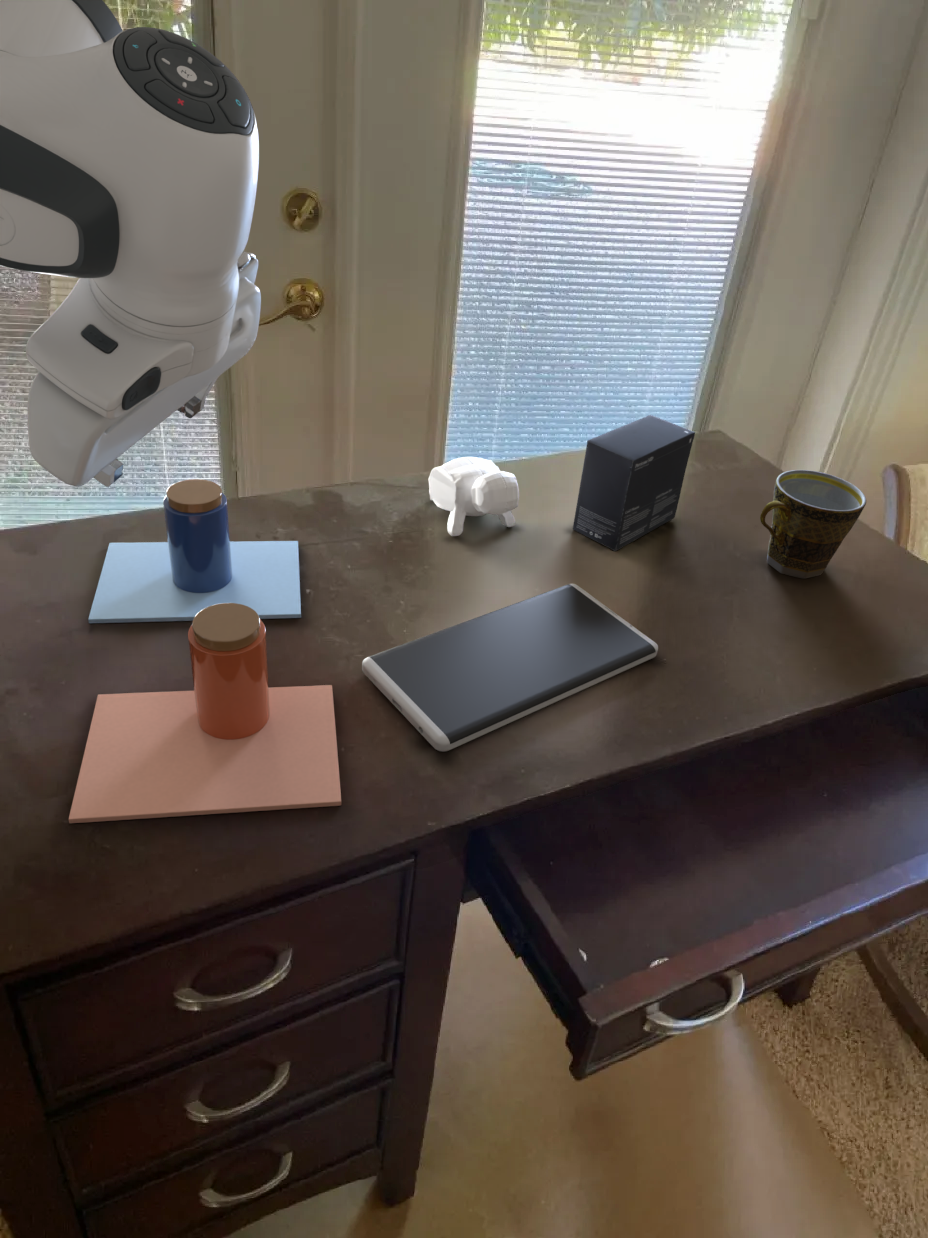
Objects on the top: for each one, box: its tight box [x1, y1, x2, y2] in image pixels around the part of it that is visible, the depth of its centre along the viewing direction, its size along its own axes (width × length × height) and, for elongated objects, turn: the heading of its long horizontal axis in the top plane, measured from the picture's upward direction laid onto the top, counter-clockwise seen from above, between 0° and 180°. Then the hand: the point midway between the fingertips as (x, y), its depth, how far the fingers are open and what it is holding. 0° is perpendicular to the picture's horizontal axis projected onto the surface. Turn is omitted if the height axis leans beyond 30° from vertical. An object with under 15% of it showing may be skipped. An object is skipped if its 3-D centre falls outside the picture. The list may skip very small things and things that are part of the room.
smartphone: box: [361, 583, 659, 752], centre depth 85 cm, size 13×27×2 cm, turn 126°
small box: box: [572, 414, 696, 552], centre depth 107 cm, size 13×7×12 cm, turn 136°
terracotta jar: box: [187, 603, 270, 740], centre depth 73 cm, size 6×6×10 cm
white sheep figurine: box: [427, 456, 520, 537], centre depth 105 cm, size 9×8×15 cm
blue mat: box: [87, 540, 302, 624], centre depth 92 cm, size 20×14×1 cm
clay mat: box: [68, 684, 342, 824], centre depth 73 cm, size 20×14×1 cm
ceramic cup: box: [759, 469, 867, 580], centre depth 103 cm, size 13×10×10 cm
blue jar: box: [162, 478, 232, 593], centre depth 89 cm, size 6×6×10 cm
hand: (149, 441), depth 69 cm, fingers open, 8 cm apart
